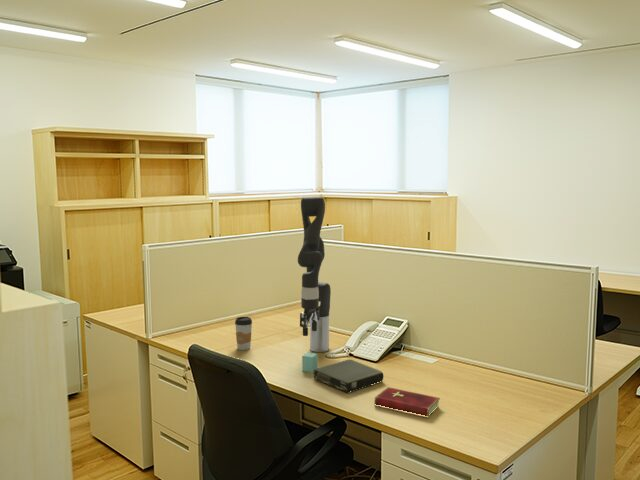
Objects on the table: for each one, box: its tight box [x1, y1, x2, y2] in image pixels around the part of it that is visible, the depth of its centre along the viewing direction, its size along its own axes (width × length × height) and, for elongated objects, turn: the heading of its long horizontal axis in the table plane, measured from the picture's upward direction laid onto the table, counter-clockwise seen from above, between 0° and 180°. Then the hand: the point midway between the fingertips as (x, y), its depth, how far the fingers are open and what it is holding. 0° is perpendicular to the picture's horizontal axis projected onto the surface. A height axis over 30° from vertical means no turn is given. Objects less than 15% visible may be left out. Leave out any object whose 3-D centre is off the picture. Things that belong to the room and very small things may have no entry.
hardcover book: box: [374, 386, 441, 417], centre depth 214 cm, size 12×21×4 cm, turn 59°
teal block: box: [301, 351, 319, 373], centre depth 252 cm, size 5×5×7 cm
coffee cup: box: [234, 316, 253, 351], centre depth 282 cm, size 8×8×15 cm
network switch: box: [313, 359, 384, 393], centre depth 240 cm, size 23×24×5 cm
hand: (309, 333), depth 251 cm, fingers open, 8 cm apart
